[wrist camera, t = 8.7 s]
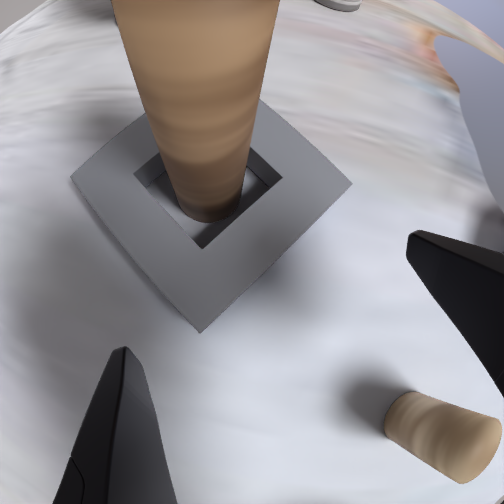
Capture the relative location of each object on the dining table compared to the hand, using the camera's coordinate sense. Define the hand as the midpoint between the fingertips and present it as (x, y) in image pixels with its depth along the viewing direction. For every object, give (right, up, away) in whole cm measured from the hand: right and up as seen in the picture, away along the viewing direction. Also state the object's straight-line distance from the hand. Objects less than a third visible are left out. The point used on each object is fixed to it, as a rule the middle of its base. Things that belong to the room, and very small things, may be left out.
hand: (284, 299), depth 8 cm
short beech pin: (+10, -11, +9) cm, 17 cm away
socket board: (-4, +5, +10) cm, 12 cm away
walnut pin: (-4, +5, +10) cm, 12 cm away
